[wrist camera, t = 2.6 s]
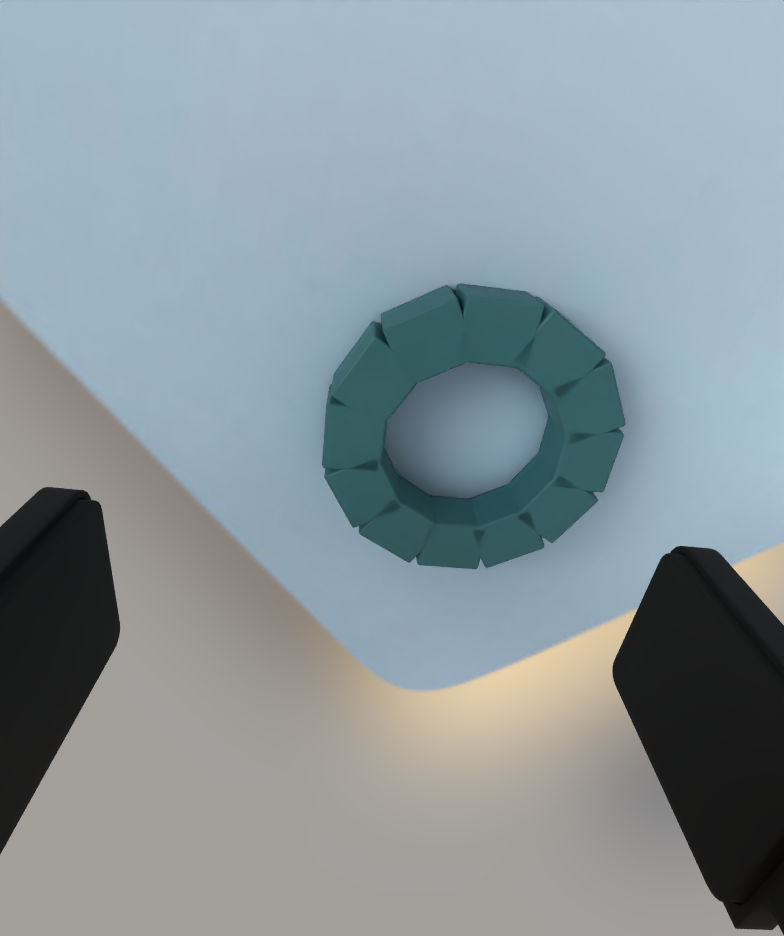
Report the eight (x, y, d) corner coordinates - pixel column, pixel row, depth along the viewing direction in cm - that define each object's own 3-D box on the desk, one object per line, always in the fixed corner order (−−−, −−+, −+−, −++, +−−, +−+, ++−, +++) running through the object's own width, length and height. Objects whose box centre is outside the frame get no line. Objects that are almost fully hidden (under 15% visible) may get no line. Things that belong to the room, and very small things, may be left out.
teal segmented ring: (319, 527, 17) (315, 559, 16) (338, 267, 14) (335, 279, 12) (557, 546, 18) (573, 577, 17) (638, 305, 14) (668, 319, 13)
